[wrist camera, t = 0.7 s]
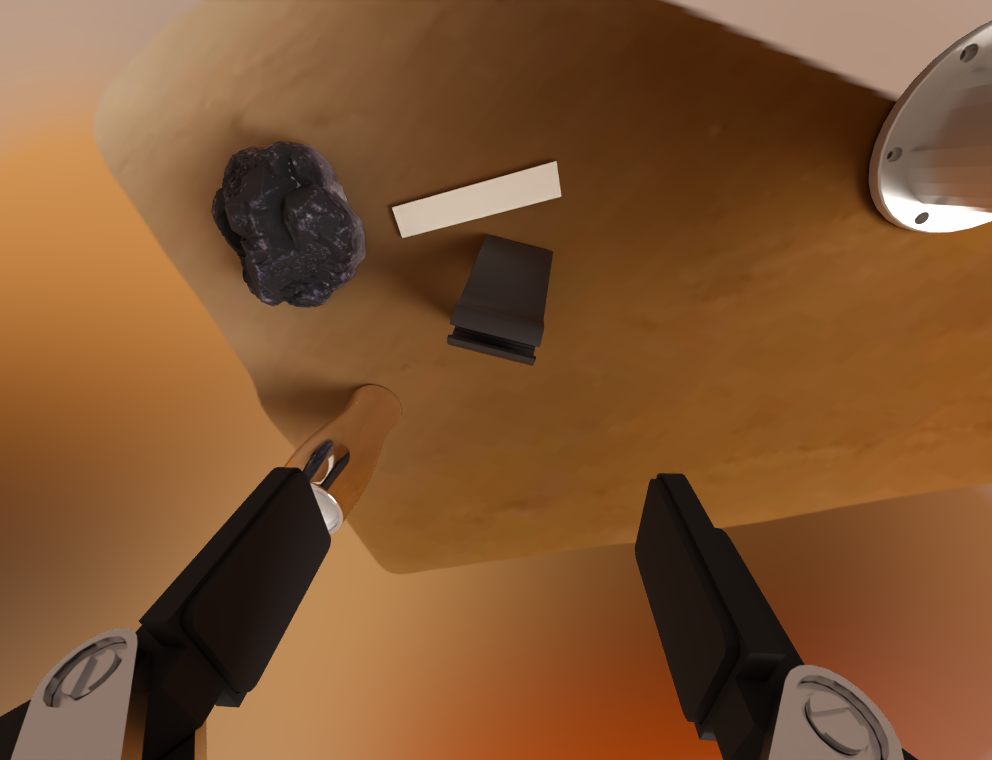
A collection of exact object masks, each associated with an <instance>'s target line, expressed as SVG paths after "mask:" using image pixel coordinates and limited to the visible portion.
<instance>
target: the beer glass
mask: <svg viewBox="0 0 992 760" xmlns="http://www.w3.org/2000/svg"><path fill="white" fill-rule="evenodd" d="M401 416H402V407H401V404H400V402H399V400H398V399H397V397H396V396H395V395H394V394H393V393H392V392H390V391H389V390H387V389H386V388H383V387H381V386H377V385H365V386H362V387H360V388H358V389H357V390H356V391H355V392H354V393H353V394H352V396H351V398H350V400H349V402H348V404H347V406H346V408H345V409H344V410H343V411H342V412H341V413H340V414H339V415H338V416H336V417H335V418H334V419H332V420H331V421H330V422H328V423H327V424H326V425H324V426H323V427H321V428H320V429H319V430H317V431H316V432H315V433H314V434H313V435H311V436H310V437H309V438H308V439H307V440H306V441H305V442H304V443H303V444H302V445H301V446H300V447H299V448H298V449H297V450H296V451H295V452H294V453H293V455H292V456H291V457H290V458H289V459H288V461H287V462H286V463H285V464H284V466H283V467H296V468H300V469H301V470H302V472H303V473H305V474H306V475H307V476H308V479H309V482H310V484H311V487H312V489H313V492H314V495H315V497H316V500H317V502H318V505H319V508H320V510H321V513H322V515H323V518H324V521H325V523H326V526H327V528H328V531H329V534H332V533H334V532H336V531H337V530H338V529H339V528H340V527H341V526H342V523H343V522H344V520H345V519H346V517H347V516H348V515H349V513H350V512H351V510H352V509H353V507H354V506H355V505H356V503H357V502H358V500H359V498H360V497H361V495H362V494H363V492H364V490H365V488H366V486H367V485H368V483H369V481H370V479H371V476H372V474H373V471H374V469H375V466H376V463H377V460H378V457H379V454H380V451H381V447H382V444H383V442H384V439H385V437H386V436H387V434H388V433H389V432H390V430H391V429H392V428H393V427H394V426H395V425H396V424H397V423H398V422H399V421H400V419H401Z"/></svg>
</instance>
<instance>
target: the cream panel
mask: <svg viewBox="0 0 992 760" xmlns="http://www.w3.org/2000/svg"><path fill="white" fill-rule="evenodd" d="M558 197H561V190H560V183H559V176H558V169H557V161H555V162H551V163H548V164H544V165H541V166H537V167H534V168H530V169H527V170H523V171H519V172H516V173H512V174H509V175H505V176H502V177H498V178H495V179H491V180H488V181H484V182H481V183H477V184H474V185H470V186H467V187H463V188H459V189H456V190H452V191H449V192H445V193H442V194H438V195H435V196H431V197H428V198H424V199H421V200H417V201H414V202H410V203H406V204H403V205H399V206H396V207H392V210H393V212H394V215H395V218H396V221H397V224H398V227H399V230H400V233H401V236H402V238H405V237H409V236H413V235H416V234H420V233H424V232H428V231H432V230H435V229H439V228H443V227H447V226H451V225H455V224H458V223H462V222H466V221H470V220H474V219H477V218H481V217H485V216H489V215H493V214H497V213H500V212H504V211H508V210H512V209H516V208H519V207H523V206H527V205H531V204H535V203H539V202H542V201H546V200H550V199H554V198H558Z"/></svg>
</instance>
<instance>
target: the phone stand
mask: <svg viewBox="0 0 992 760" xmlns="http://www.w3.org/2000/svg"><path fill="white" fill-rule="evenodd" d="M552 255H553V252H552V251H549V250H545V249H541V248H537V247H533V246H529V245H525V244H522V243H518V242H514V241H510V240H506V239H502V238H498V237H494V236H491V235H486V237H485V239H484V242H483V244H482V247H481V249H480V252H479V254H478V257H477V259H476V262H475V264H474V267H473V269H472V272H471V274H470V276H469V279H468V281H467V284H466V286H465V289H464V291H463V294H462V296H461V298H460V300H459V301H458V302H457V303H456V305H455V307H454V310H453V313H452V317H451V321H450V324H451V325H455V329H454V331H453V334H452V335H448V337H447V344H448V345H452V346H456V347H460V348H464V349H468V350H472V351H476V352H480V353H484V354H488V355H492V356H496V357H500V358H504V359H508V360H512V361H516V362H520V363H523V364H527V365H531V366H533V364H534V362H535V360H536V356H533V355H534V349H535V346H537V347H540V344H541V340H542V335H543V330H544V321H543V319H544V311H545V304H546V297H547V290H548V283H549V276H550V269H551V262H552Z"/></svg>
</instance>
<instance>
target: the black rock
mask: <svg viewBox="0 0 992 760" xmlns="http://www.w3.org/2000/svg"><path fill="white" fill-rule="evenodd" d="M222 186H223V188H221V189H219V190H218V191H216V196H215V198H214V199H213V206H212V211H211V212H212V215H213V218H214V221H215V223H216V224H217V226H218V228H219V230H220V231H221V233H222V235H223V236H224V237H225V239H226V241H227V243H228V244H229V245H230V246H231V247H232V248H233V249H234V250H235V251H236V252H237V254H238V256H240V257H239V258H240V259H241V264H242V266H243V279H244V282H246V283H247V285H248V288H249V290H250V292H251V293H253V294H254V295H256V297H257V298H259V299H260V300H261V302H264V303H266V304H269V305H271V306H276V305H279V304H280V303H282V302H283V301H286V302H288V303H289V304H290V305H294V306H296V307H316V306H320V305H323V304H324V303H325V302H326V301H328V300H329V298H330V296H331V294H332V292H333V291H334V290H336V289H338V288H340V287H342V286H344V285H345V284H346V283H347V282H348V281H349V280H351V279H352V278H353V277H354V275H355V272H356V267H357V266H358V265H359V263H360V262H361V261H362V260H363V259H364V258H365V256H366V248H365V236H364V230H363V227H362V222H361V219H360V217H358V216H357V215H356V214H355V213H354V212H353V210H352V209H351V207H350V206H349V204H348V201H347V198H346V196H345V194H344V192H343V186H341V185H340V184H339V183H338V179H337V176H336V174H335V171H334V169H333V168H332V166H331V165H330V163H329V162H328V161H327V160H326V159H325V158H324V157H323V156H322V155H321V154H320V153H319V151H317V150H315V149H314V148H313V146H310V145H301V144H294V143H288V142H276V143H275V144H271V145H269V146H267V147H265V148H257V147H250V148H247V149H245V150H242V151H240V152H238V153H237V154H235V155H232V157H231V159H230V161H229V162H228V165H227V166H226V169H225V172H224V178H223V183H222Z"/></svg>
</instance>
